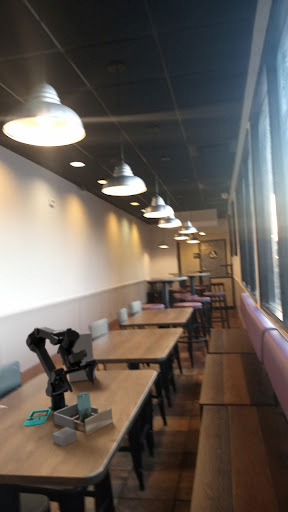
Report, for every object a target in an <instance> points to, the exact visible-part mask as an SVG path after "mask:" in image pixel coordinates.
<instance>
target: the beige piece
mask: <svg viewBox="0 0 288 512" xmlns="http://www.w3.org/2000/svg"><path fill="white" fill-rule="evenodd" d="M72 418H73V419H74V421H75V430H78V431H81V432H84V433H85V435H86V436H89V435H90V434H93V433H94V432H96V431H98V430H100V429H102V428H104V427H106V426H108V425H109V424H111V423H113V422H114V420H113V409H112V407H108V408H106V409H104V410H101V411H100V412H98V414H94V413H92V417H90V418H88V419H86V420H85V423H82V422H79V415H76V416H73V417H72Z"/></svg>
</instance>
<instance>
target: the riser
mask: <svg viewBox="0 0 288 512" xmlns="http://www.w3.org/2000/svg"><path fill="white" fill-rule="evenodd" d="M77 433H78V432H77V429H75V430H73V429H71V428H68V427H63V428H61V429H59V430H57V431H55V432H52V442H53V443H54V444H56V445H59V446H61V447H65V446H67V445H69V444H71V443H72V442H75V441H77V440H78V434H77Z"/></svg>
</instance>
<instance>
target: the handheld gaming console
mask: <svg viewBox="0 0 288 512" xmlns="http://www.w3.org/2000/svg"><path fill="white" fill-rule="evenodd" d="M45 412H46V413H45ZM51 412H52V410H51V409H48V408H45V409H36V410H32V411H31V412H30V414H29V415H28V417H27V418H26V419H25V421H24V423H23V427H31V426H40V425H43V424H44V423H46V421H47V420H48V417H49V416H50V414H51ZM34 413H39V414H37V415H34ZM44 413H45V414H44Z"/></svg>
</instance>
